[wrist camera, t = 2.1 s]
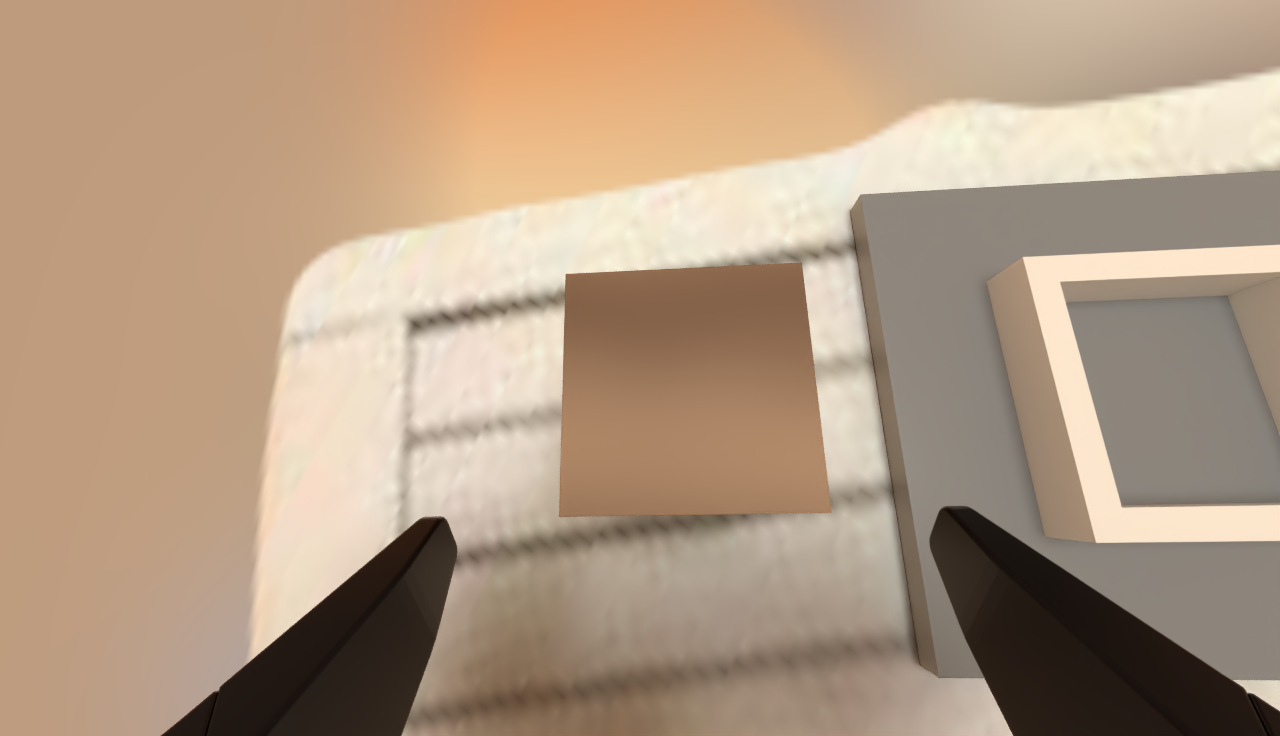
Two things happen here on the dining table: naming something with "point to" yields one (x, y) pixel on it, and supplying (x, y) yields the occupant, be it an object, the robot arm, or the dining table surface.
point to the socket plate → (1089, 394)
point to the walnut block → (690, 394)
